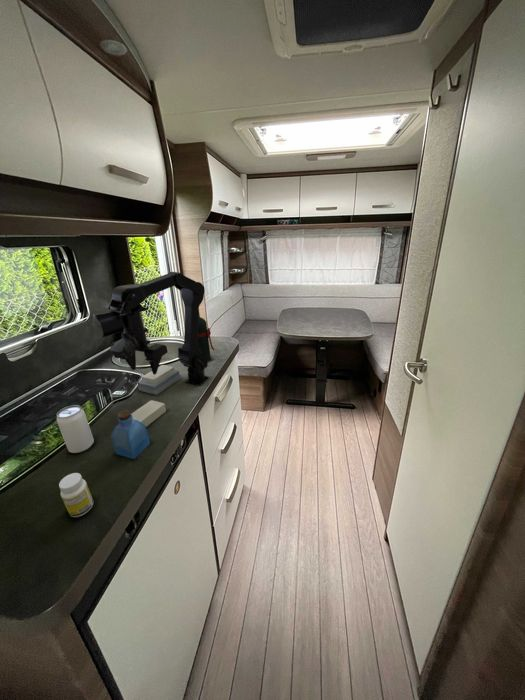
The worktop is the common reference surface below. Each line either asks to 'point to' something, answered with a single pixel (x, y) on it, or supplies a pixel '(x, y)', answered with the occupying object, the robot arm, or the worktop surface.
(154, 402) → the white books
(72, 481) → the supplement bottle
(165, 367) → the white book
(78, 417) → the can
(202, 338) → the wine bottle
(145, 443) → the perfume bottle
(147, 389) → the grey books
